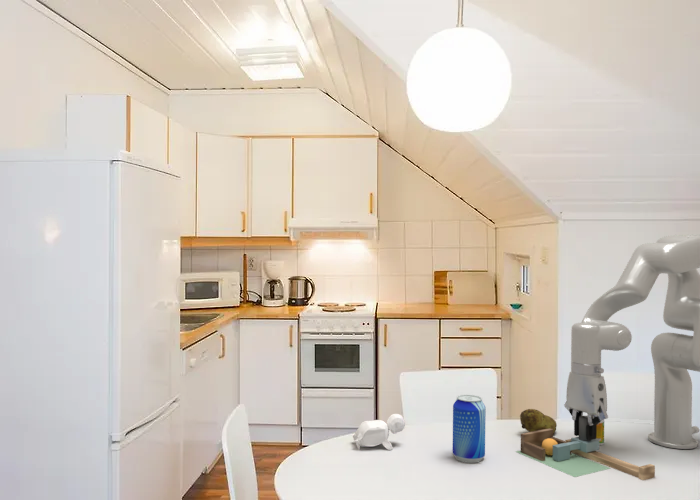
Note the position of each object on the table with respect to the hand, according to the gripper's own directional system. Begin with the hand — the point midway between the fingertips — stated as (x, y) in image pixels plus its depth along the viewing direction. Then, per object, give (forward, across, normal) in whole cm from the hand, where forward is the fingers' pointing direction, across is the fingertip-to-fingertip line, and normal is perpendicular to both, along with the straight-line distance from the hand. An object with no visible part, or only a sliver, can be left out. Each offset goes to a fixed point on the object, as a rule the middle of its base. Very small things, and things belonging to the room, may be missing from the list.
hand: (585, 436), depth 157 cm
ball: (0, +4, +9) cm, 10 cm away
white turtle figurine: (+5, +31, +46) cm, 56 cm away
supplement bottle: (+5, +6, -11) cm, 14 cm away
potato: (+5, +18, -2) cm, 19 cm away
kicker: (+5, 0, +4) cm, 6 cm away
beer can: (+5, +12, +30) cm, 33 cm away
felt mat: (+5, 0, +9) cm, 10 cm away
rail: (+5, -7, 0) cm, 9 cm away
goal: (+5, +5, +9) cm, 11 cm away
